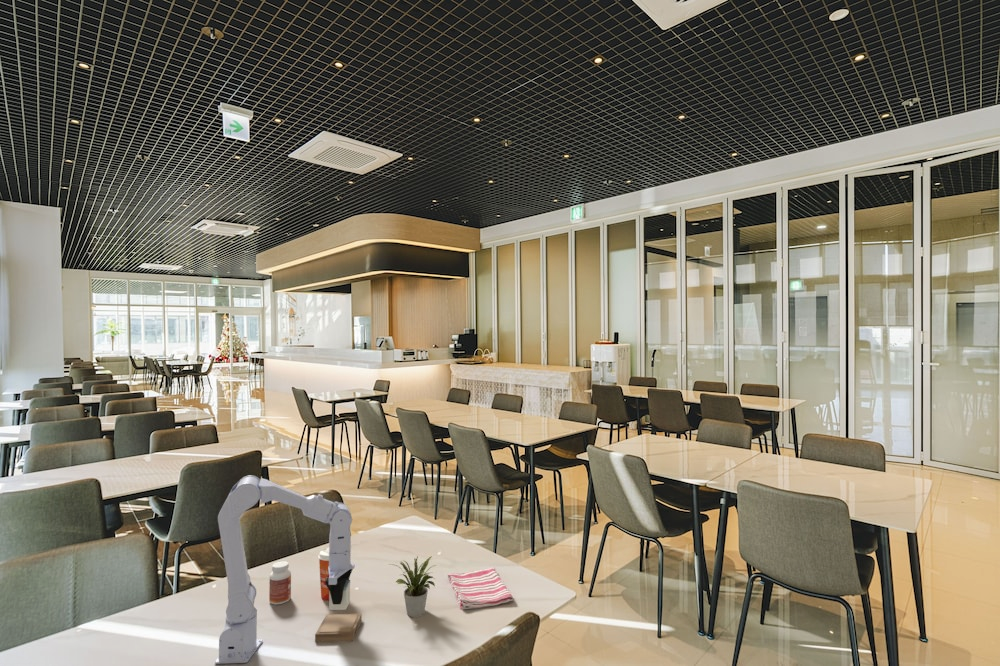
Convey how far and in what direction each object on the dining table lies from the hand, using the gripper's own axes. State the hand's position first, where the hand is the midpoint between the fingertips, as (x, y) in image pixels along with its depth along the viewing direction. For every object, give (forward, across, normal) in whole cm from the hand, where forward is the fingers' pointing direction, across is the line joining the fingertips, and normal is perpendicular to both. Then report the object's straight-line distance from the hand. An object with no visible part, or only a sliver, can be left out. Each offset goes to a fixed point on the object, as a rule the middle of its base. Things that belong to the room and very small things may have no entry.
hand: (339, 599), depth 139 cm
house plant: (+9, +8, -19) cm, 22 cm away
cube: (+2, 0, 0) cm, 2 cm away
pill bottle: (+9, +18, +23) cm, 31 cm away
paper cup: (+9, +20, +8) cm, 23 cm away
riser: (+9, 0, 0) cm, 9 cm away
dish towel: (+10, +22, -39) cm, 46 cm away
